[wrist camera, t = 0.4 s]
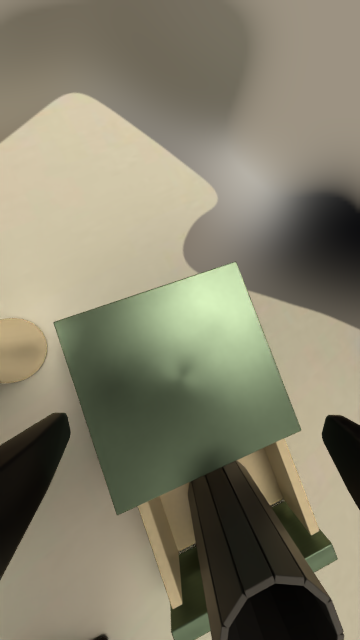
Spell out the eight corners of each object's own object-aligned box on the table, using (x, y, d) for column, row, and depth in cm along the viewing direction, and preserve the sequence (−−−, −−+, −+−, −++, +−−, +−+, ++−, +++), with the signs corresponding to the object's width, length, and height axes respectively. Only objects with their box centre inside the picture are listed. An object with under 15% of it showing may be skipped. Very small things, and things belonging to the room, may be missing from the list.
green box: (261, 403, 21) (301, 430, 15) (130, 460, 19) (116, 516, 13) (215, 282, 22) (236, 261, 16) (85, 327, 20) (52, 322, 14)
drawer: (313, 550, 20) (359, 615, 15) (188, 618, 18) (197, 713, 13) (250, 383, 20) (276, 397, 16) (126, 435, 19) (115, 466, 14)
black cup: (260, 506, 18) (363, 681, 9) (201, 535, 18) (247, 758, 8) (237, 445, 19) (314, 552, 9) (179, 471, 18) (199, 616, 9)
